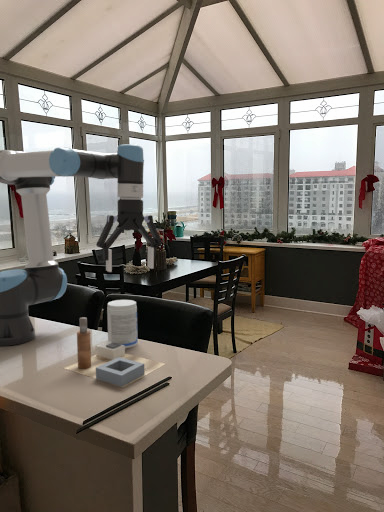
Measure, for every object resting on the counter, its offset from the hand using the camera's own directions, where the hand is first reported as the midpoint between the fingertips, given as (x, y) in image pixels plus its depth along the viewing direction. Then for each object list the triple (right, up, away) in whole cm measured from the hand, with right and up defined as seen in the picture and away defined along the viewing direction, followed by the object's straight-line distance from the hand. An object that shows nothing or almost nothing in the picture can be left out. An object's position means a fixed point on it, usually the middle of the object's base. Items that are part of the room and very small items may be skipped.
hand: (130, 269), depth 124 cm
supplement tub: (-4, -26, +11) cm, 28 cm away
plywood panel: (-3, -28, -8) cm, 29 cm away
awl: (-12, -27, -9) cm, 31 cm away
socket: (0, -28, -15) cm, 32 cm away
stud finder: (-6, -26, 0) cm, 27 cm away
